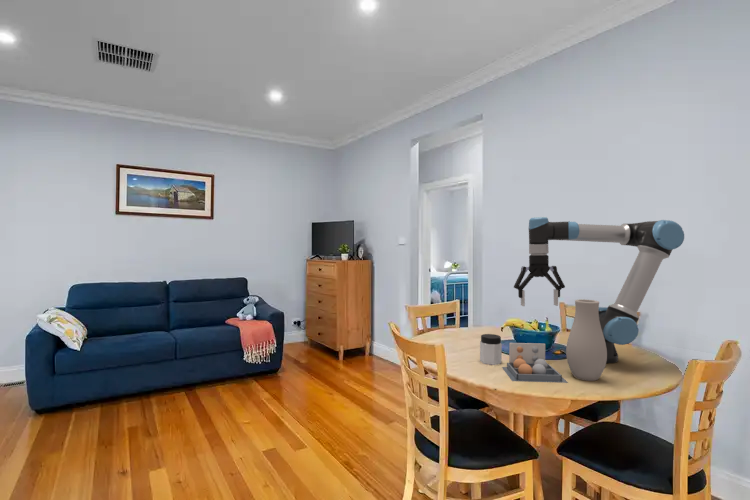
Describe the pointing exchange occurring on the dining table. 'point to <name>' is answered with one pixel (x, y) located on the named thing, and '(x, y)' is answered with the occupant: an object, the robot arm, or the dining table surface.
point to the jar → (490, 349)
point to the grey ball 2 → (538, 369)
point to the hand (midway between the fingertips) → (539, 305)
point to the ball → (525, 369)
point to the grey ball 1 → (542, 362)
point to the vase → (586, 342)
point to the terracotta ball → (518, 362)
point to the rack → (530, 363)
